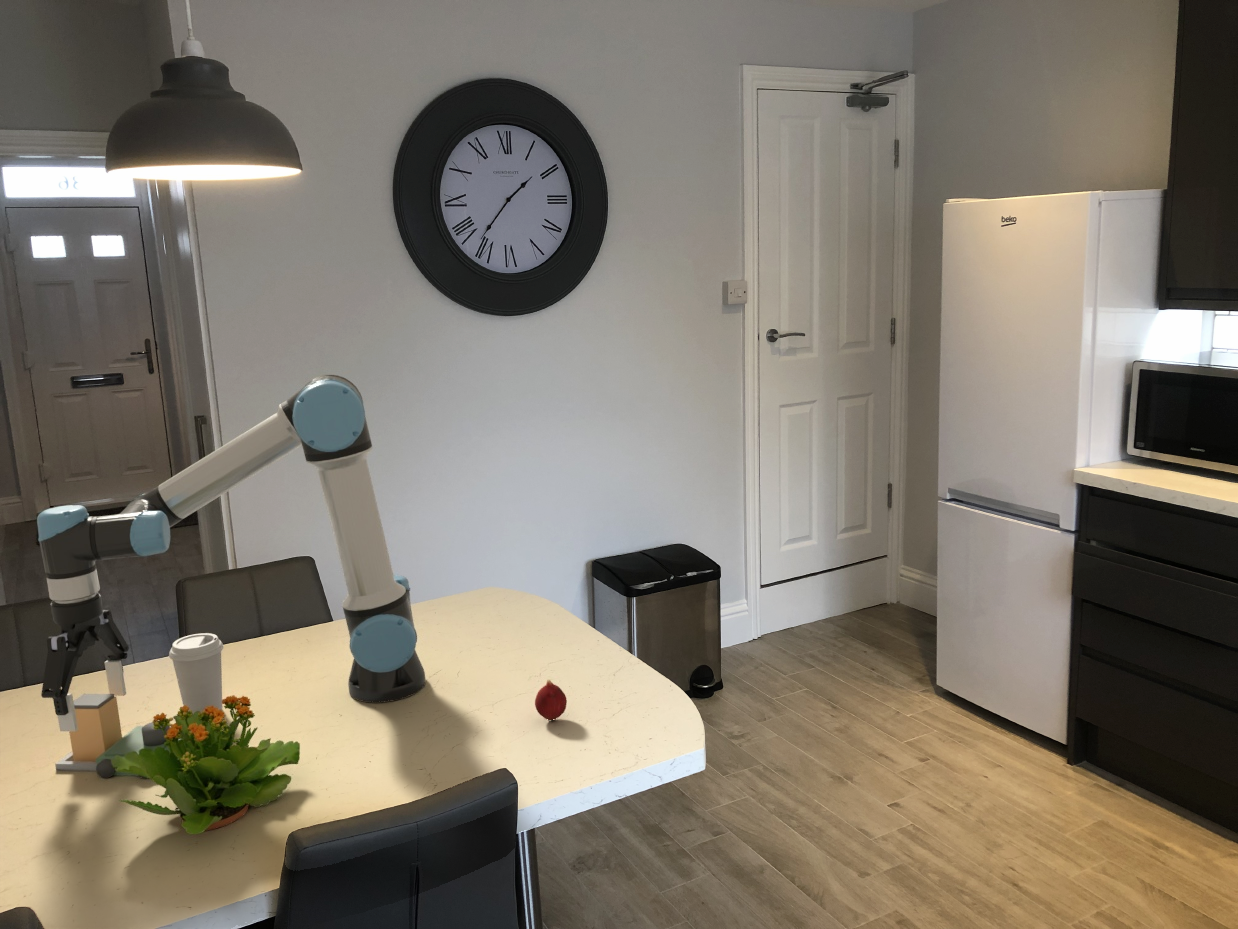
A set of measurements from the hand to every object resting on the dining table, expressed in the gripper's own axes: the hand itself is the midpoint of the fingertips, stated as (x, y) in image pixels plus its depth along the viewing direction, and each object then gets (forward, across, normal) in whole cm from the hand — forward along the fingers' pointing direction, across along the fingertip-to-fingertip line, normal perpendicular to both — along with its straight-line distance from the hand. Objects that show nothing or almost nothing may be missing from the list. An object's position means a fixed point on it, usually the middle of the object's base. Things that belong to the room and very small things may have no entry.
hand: (94, 712), depth 166 cm
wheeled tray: (+9, 0, +5) cm, 10 cm away
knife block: (+8, 0, 0) cm, 8 cm away
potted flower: (+9, +18, +30) cm, 36 cm away
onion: (+10, -16, +78) cm, 80 cm away
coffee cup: (+9, -17, +10) cm, 21 cm away
